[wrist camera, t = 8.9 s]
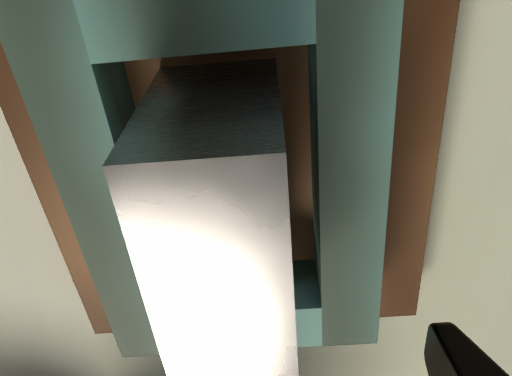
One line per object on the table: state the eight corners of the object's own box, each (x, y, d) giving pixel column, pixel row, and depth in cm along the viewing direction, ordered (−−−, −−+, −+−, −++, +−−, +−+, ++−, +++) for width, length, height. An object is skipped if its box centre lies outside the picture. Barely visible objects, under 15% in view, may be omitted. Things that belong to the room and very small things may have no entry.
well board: (457, -144, 12) (534, -161, 9) (406, 289, 21) (435, 366, 17) (-47, -88, 13) (-156, -84, 9) (105, 307, 21) (76, 384, 18)
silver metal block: (276, 57, 14) (286, 153, 8) (287, 240, 17) (299, 382, 12) (160, 67, 14) (102, 165, 9) (196, 246, 17) (170, 389, 12)
